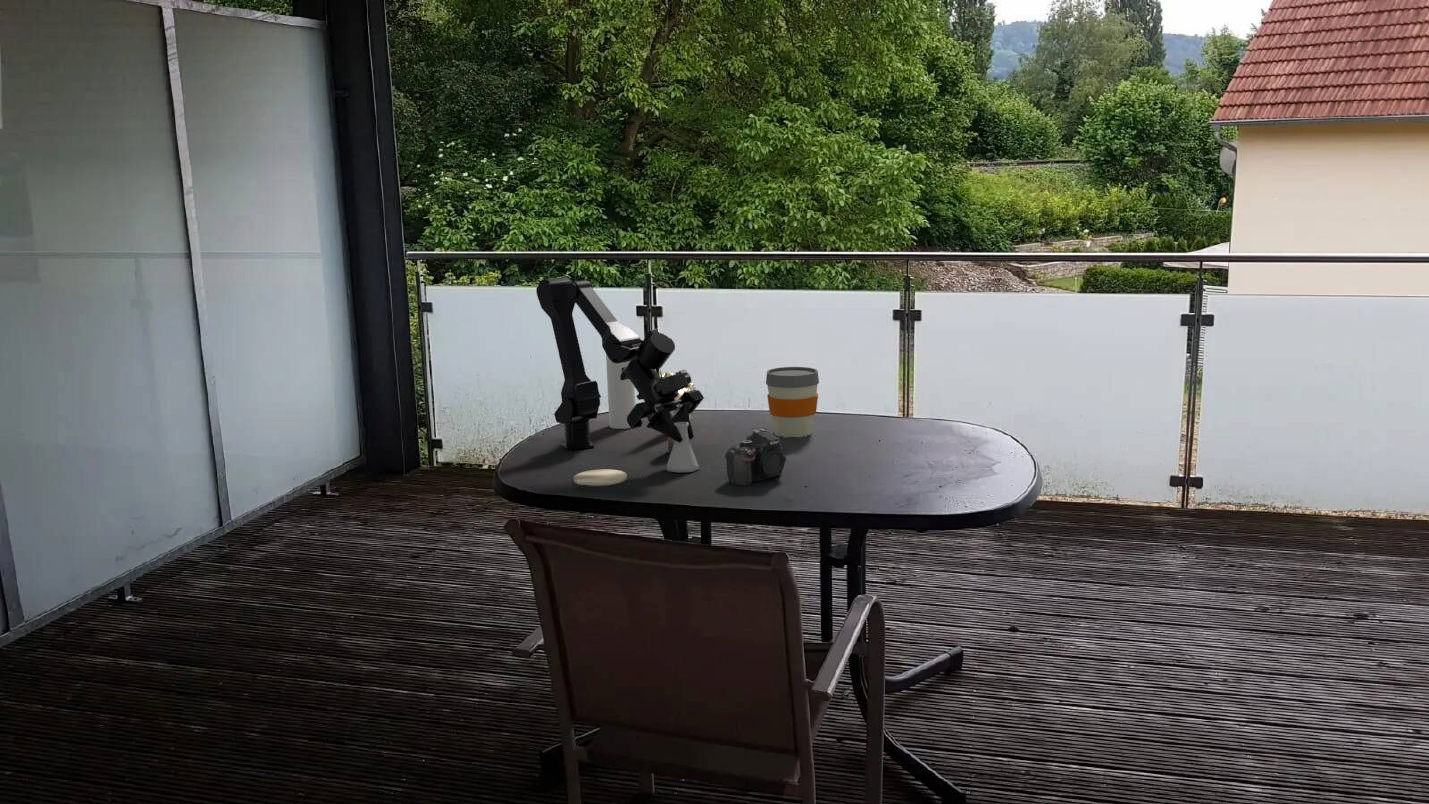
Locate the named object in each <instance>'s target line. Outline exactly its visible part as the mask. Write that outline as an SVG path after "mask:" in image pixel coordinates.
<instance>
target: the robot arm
mask: <svg viewBox="0 0 1429 804" xmlns="http://www.w3.org/2000/svg"><path fill="white" fill-rule="evenodd" d="M536 296H537V299H538V302H539V305H540V307H541V309H542V310H543V312H545V315H547V316H548V317H549V319H550V322H551V325H552V329H553V334H554V339H555V343H556V348H557V351H558V357H559V361H560V364H561V371H562V374H563V379H564V382H563V384H562V388H561V392H560V396H561V397H560V398H561V403H560V405H559V406H558V407H557V408H556V410H555V412H554V413H553V415H554V419H555V421H556V423H557V424H558V423H559V424H563V425H564V440H565V441H563V442H561V446H562V447H563V448H564V449H565V450H567V451H573V450H581V449H589V448H591V449H592V448H595V444H594V443H593V442H592V441H591V433H590V420H593V419H597V418H598V413H599V408H600V406H601V398H602V395H601V394H600V390H599V384H598V382H597V380H591V379H590V378H589V377H588V375H587V373H586V368H585V365H584V360H583V355H582V352H581V347H580V343H579V339H578V334H577V330H576V325H575V320H574V317H573V313H574V309H575V305H577V306H578V308H579V309H580V310H581V312H582V313H583V315H585V318H587V320H588V321H589V322H590V324H591V325H592V327H594V329H595V330H596V332H597V333H598V334H599V336H600V337H601V344H602V345H601V348H602V349H603V351H604V352H605V355H606V354H607V356H608V358H609V359H610V360H611V361H612V362H613V363H623V362H628V361H630V362H629V364H628V365H627V367H623V368H622V372H621V376H620V379H621V380H626V379H630V381H631V382H632V384H633V385H634V387H635V389H636V390H637V391H636V390H635V391H636V392H638V394H637V395H635V398H636V399H637V400H638V401H640V400H641V401H642V400H643V401H642V402H638V403H635V406H634V408H633V409H632V410H631V412H630V413H629V414H628V416H627V423H628V424H629V426H630V427H631V428H630V429H631V430H633V429H638V428H641V427H642V425H643V420H642V419H645V418H646V419H647V421H648V423H647V424H646V427H647V429H653V430H655V431H657V432H658V433H661V434H663V435H665V436H666V437H667V438H668V437H670V438H672V439H673V440H675V441H677V442H679V443H680V442H682V440H683V439H682V437H681V435H680V433H679V431H678V430H677V428H676V426H675V425H674V423H676V422H688V424H689V426H688V427H687V430H688V437H689V439H690V441H692V439H694V437H695V435H694V432H693V428H692V427H693V426H692V424H691V418H690V419H689V414H691V415H692V413H694V411H695V410H696V409H697V408H698V406H699V405H700V404H701V403H702V401H703V400H704V399H705V397H704V395H703V394H702V393H701V391H700V390H699V389H698V390H697V389H696V390H692V391H688V392H684V393H683V395H682V396H681V397H680V398H679V400H676V401H675V399H674V398H675V397H677V396H678V395H679V392H678V391H679V390H681V389H683V388H688V387H689V385H688V384H689V383H692V382H691V381H692V377H691V374H690V373H689V372H688V371H687V370H686V369H680V370H679V371H676V372H675V374H673V375H671V376H669V377H661V376H660V374H659V373H658V372H657V370H660V369H662V367H663V366H664V365H665V363H666V362H667V360H669V358H670V357H671V356H672V354H674V353H673V352H674V351H675V349H676V345H675V342H674V340H673V339H672V338H670V337H669V336H667V335H666V334H664V333H661V332H659V331H658V329H657V328H655V329H651V330H650V329H649V330H648V332H647V333H646V335H645V337H644V339H641V338H640V337H639V335H638V334H637V333H636V332H634V331H633V330H632V328H630V327H628V326H625V325H623V324H622V323H620V322H619V321H618V320H617V318H616V317H615V315H614V314H613V313H612V312H611V310H610V309H609V308H608V307H607V305H606V304H605V302H604V301H603V300H602V299H601V297H600V295H598V294H597V292H596V291H595V290H594V287H593V284H592V283H591V282H590V281H589V280H572V279H569V277H566V276H562V277H553V278H552V277H551V278H543V279H541V280H540V281H539V283H538V285H537V287H536ZM670 413H671V415H672V416H673V418H672V419H671V418H670Z"/></svg>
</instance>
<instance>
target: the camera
mask: <svg viewBox="0 0 1429 804" xmlns="http://www.w3.org/2000/svg"><path fill="white" fill-rule="evenodd" d="M745 438H746V439H745V440H741V442H739V444H736V445H734V446H731V447H729V449H728V450H727V451H726V452H725V455H724V456H725V460H726V474H727V479H728V481H729V483H732V484H733V485H736V486H741V487H748V486H751V485H752V482H757V481H761V480H766V479H770V478H775V477H777V476H779V475H781V474H782V473H783V470H784V468H785V464H786V461H787V457H786V456H785V455H784V453H783V448H782V447H783V446H782V444H781V440H780V438H779V436H777V435H775V434H773V433H772V432H770V431H768V430H766V429H764V428H760V429H759V430H756V429H754V430H753V431H752V434H751V435H748V436H747V437H745Z"/></svg>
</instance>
